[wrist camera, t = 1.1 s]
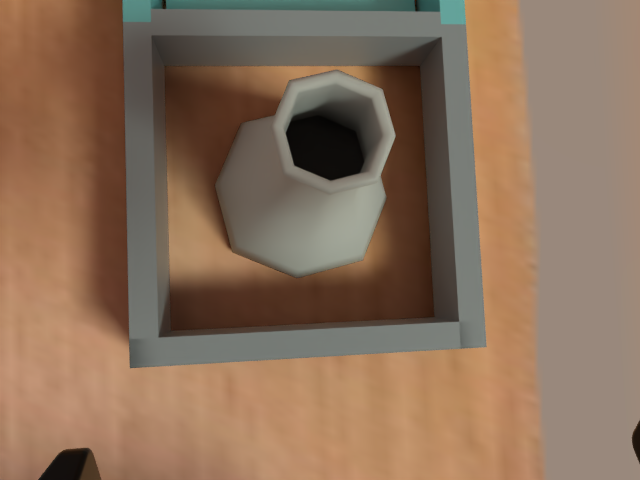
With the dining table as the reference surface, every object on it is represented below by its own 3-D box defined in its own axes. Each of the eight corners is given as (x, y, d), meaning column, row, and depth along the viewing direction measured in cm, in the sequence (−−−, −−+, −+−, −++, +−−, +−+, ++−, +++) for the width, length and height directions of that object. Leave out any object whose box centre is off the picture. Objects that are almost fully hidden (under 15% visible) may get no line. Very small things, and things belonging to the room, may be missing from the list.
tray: (458, 339, 25) (486, 347, 22) (145, 357, 23) (129, 367, 20) (425, -211, 26) (446, -274, 23) (133, -227, 25) (116, -297, 22)
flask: (381, 282, 24) (467, 282, 15) (209, 273, 24) (176, 265, 14) (388, 116, 25) (477, 7, 15) (221, 101, 24) (198, -24, 14)
